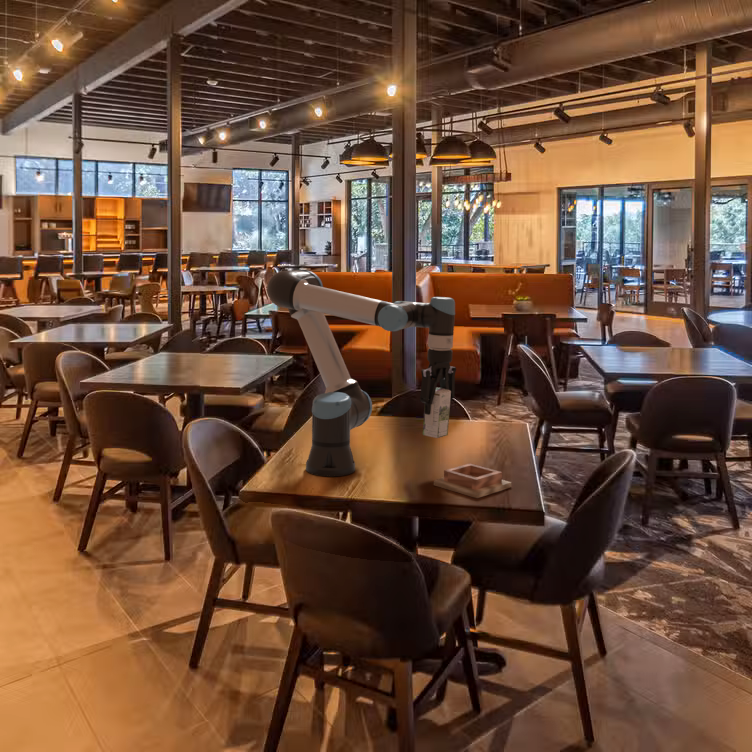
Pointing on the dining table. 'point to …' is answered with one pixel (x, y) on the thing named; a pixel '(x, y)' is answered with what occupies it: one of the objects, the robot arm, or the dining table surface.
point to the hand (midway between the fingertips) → (436, 422)
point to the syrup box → (439, 414)
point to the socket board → (472, 480)
